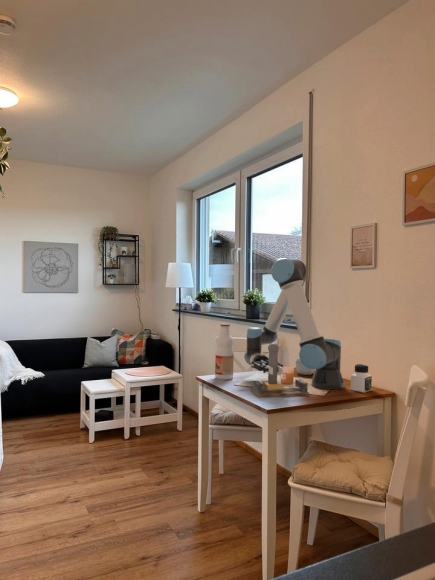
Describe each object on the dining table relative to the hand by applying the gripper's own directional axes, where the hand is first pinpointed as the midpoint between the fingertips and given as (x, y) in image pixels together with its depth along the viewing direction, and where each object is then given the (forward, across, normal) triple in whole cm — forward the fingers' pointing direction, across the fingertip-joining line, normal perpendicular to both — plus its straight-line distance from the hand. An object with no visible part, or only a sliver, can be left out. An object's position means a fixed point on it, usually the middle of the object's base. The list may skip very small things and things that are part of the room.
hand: (277, 371), depth 186 cm
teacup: (-45, -34, -11) cm, 58 cm away
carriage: (-5, 0, -8) cm, 10 cm away
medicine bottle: (-5, -44, -11) cm, 46 cm away
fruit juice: (-39, +14, -11) cm, 43 cm away
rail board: (-5, -4, -11) cm, 13 cm away
